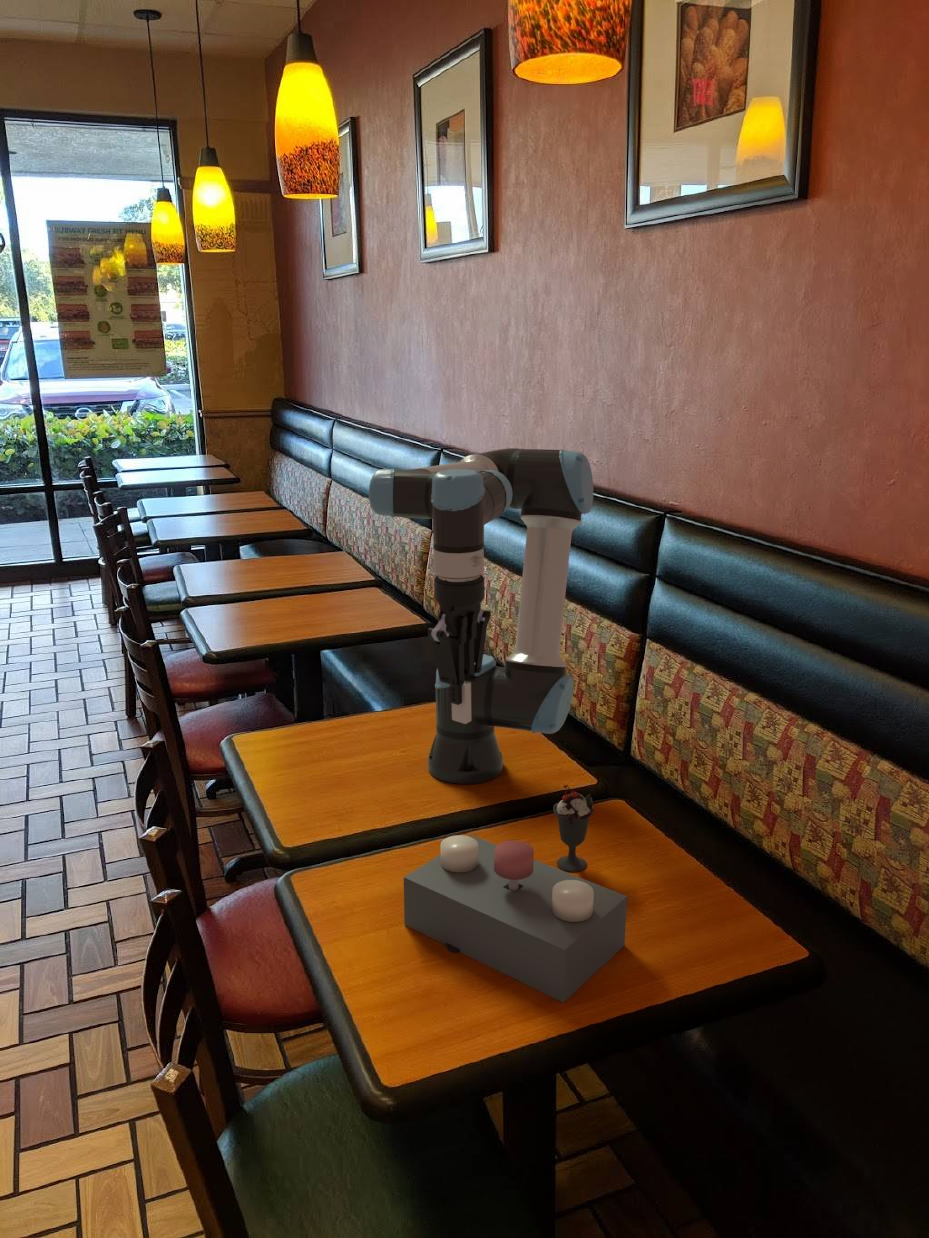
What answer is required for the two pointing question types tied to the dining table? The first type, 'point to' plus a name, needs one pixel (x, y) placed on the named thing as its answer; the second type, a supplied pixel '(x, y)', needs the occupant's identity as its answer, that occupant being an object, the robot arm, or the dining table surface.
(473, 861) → the cream knob
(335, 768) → the dining table surface
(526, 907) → the control box
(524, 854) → the pink knob
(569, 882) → the cream knob
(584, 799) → the sundae
